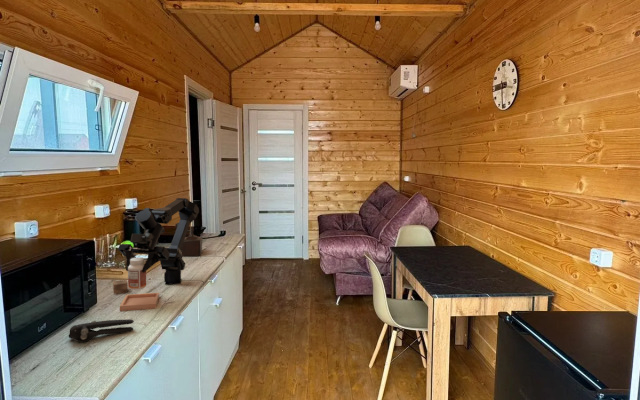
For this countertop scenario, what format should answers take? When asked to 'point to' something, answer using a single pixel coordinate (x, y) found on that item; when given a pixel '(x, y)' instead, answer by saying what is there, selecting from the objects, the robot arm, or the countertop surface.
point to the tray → (139, 301)
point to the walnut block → (120, 286)
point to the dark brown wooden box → (191, 245)
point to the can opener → (86, 333)
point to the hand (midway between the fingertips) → (134, 271)
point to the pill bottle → (136, 274)
